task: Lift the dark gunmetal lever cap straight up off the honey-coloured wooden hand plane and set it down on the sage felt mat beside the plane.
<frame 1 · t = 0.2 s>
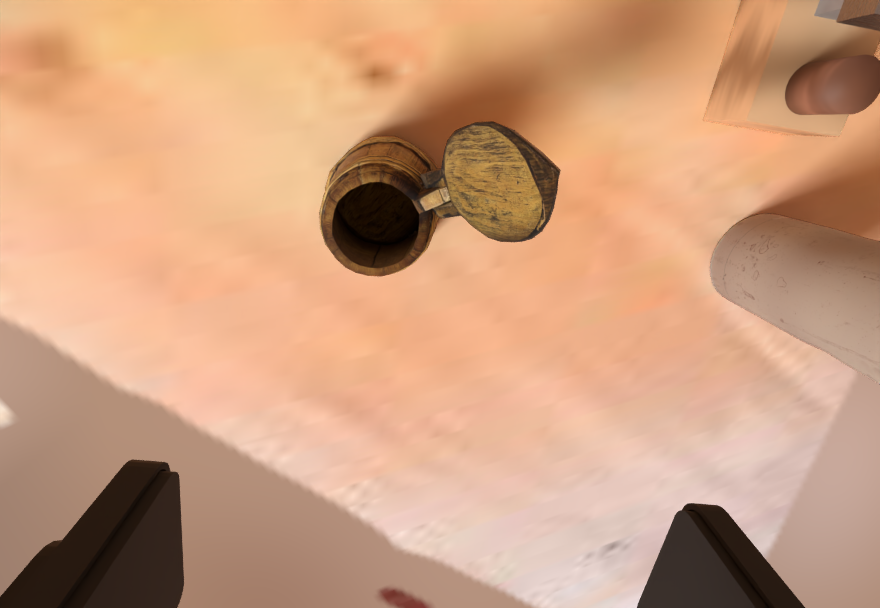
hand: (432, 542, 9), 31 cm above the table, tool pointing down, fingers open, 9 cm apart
thermos bottle: (753, 258, 41), on the table
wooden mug: (411, 185, 37), on the table
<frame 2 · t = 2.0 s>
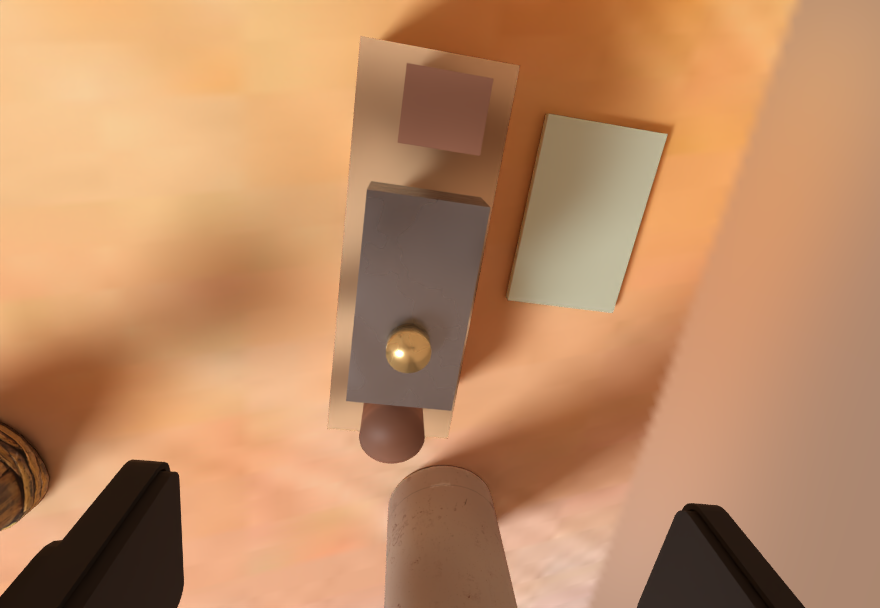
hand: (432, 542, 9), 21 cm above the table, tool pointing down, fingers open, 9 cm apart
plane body: (409, 245, 29), on the table
thermos bottle: (440, 504, 37), on the table
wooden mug: (8, 452, 32), on the table
lever cap: (412, 290, 21), point 8 cm above the table, touching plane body
felt mat: (580, 219, 29), on the table
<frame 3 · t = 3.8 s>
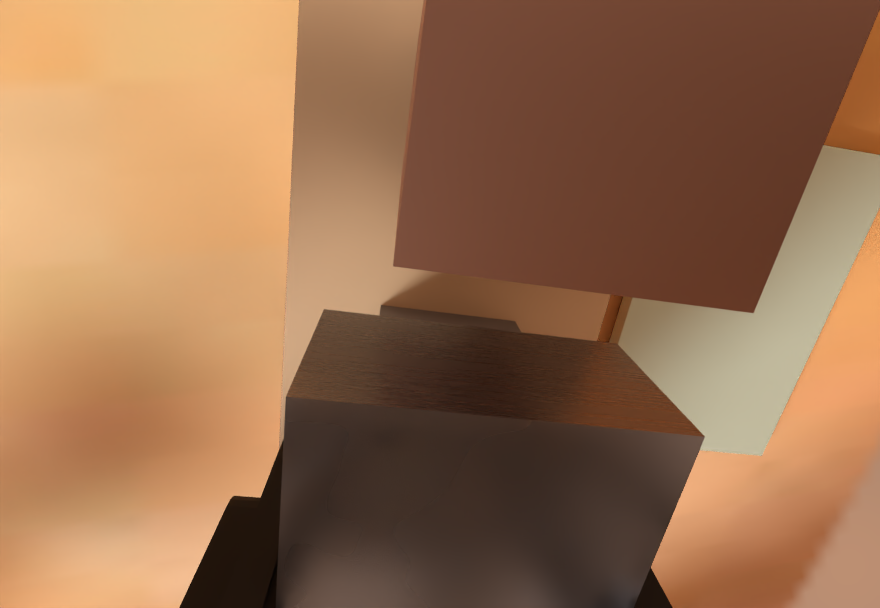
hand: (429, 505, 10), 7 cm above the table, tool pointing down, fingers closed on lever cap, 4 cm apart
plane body: (420, 352, 16), on the table
lever cap: (432, 546, 9), point 8 cm above the table, touching gripper, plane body
felt mat: (719, 306, 16), on the table
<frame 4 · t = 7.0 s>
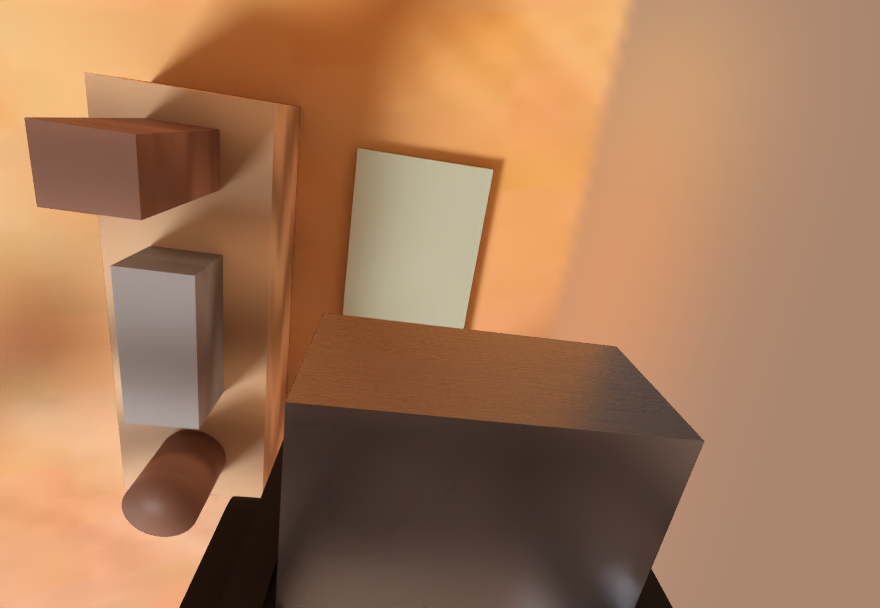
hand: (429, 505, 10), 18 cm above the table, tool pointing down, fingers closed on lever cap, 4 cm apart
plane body: (227, 287, 27), on the table
lever cap: (432, 549, 9), point 19 cm above the table, touching gripper
felt mat: (412, 259, 27), on the table
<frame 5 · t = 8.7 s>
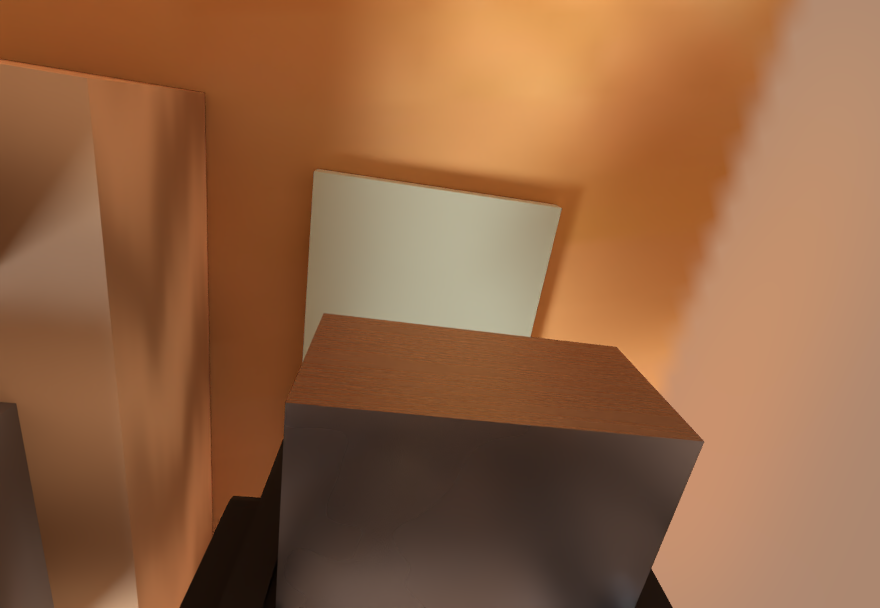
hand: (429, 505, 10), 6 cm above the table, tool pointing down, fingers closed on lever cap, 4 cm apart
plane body: (98, 404, 16), on the table
lever cap: (432, 549, 9), point 7 cm above the table, touching gripper
felt mat: (414, 355, 16), on the table
when the fingers open (1 cm above the table, at t = 10.2 s): lever cap drops 2 cm, resting on felt mat.
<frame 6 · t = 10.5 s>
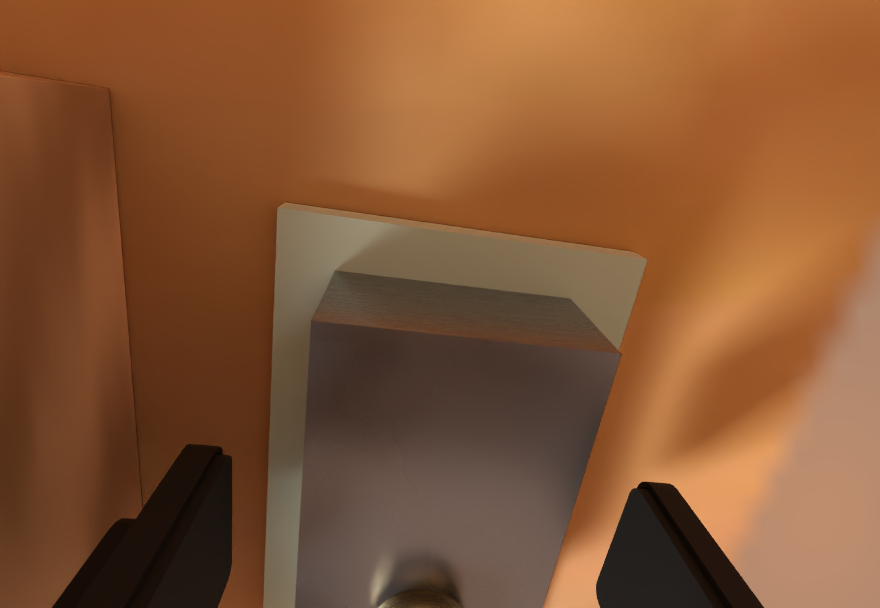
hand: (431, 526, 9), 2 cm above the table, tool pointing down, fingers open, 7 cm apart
lever cap: (424, 472, 11), point 1 cm above the table, touching felt mat
felt mat: (426, 455, 11), on the table
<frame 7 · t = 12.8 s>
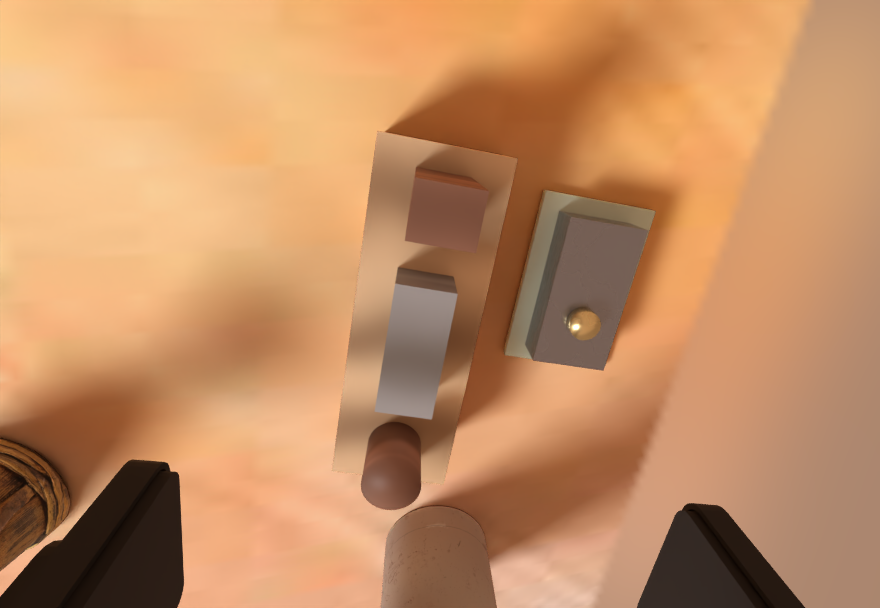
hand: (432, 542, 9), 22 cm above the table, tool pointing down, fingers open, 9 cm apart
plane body: (415, 302, 31), on the table
thermos bottle: (435, 543, 38), on the table
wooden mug: (35, 477, 35), on the table
lever cap: (575, 286, 31), point 1 cm above the table, touching felt mat
felt mat: (573, 283, 31), on the table
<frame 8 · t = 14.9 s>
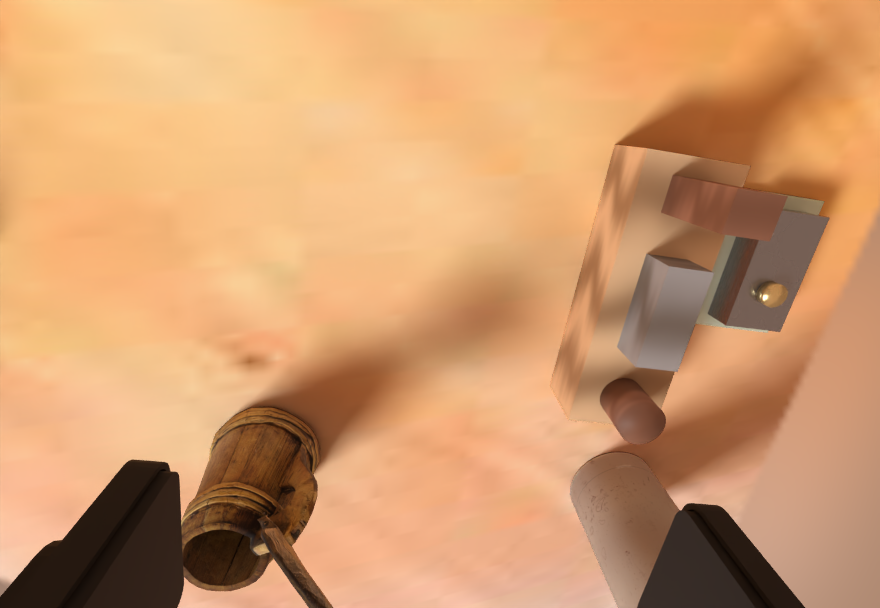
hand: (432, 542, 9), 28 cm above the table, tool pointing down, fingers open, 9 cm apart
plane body: (621, 282, 38), on the table
thermos bottle: (609, 484, 46), on the table
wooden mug: (291, 439, 42), on the table
lever cap: (753, 264, 38), point 1 cm above the table, touching felt mat
felt mat: (749, 262, 38), on the table
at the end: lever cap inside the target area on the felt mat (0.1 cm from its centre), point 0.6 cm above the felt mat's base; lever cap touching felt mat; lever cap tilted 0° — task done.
